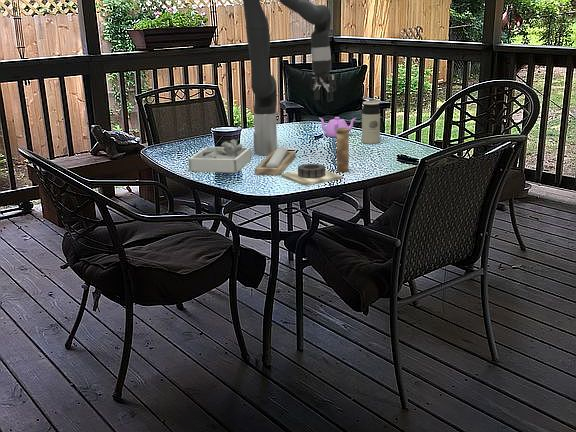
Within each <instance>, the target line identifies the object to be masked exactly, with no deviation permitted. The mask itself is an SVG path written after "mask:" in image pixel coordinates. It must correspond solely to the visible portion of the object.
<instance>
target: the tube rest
mask: <svg viewBox="0 0 576 432" xmlns="http://www.w3.org/2000/svg"><path fill="white" fill-rule="evenodd" d="M274 153H275V151H272V152H271V153H270V154H269V155H266V157H265V158H264V159H263V160H262V161H261V162H260V163H258V165H257V166H255V168H254V175H255V176H281V174H284V172H285V170H286V169H287V168H288V166H289V165H291V163H292V162H293V161H294V160H295V158H296V157H297V155H296V153H297V151H296V150H287V156H286V157H285V159H284V160H283V161H282V163H281V164H280V165H279V166H278V167H277V168H266V164H267V163H268V161H269V160H270V159H271V157H272V156H273V154H274Z"/></svg>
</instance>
